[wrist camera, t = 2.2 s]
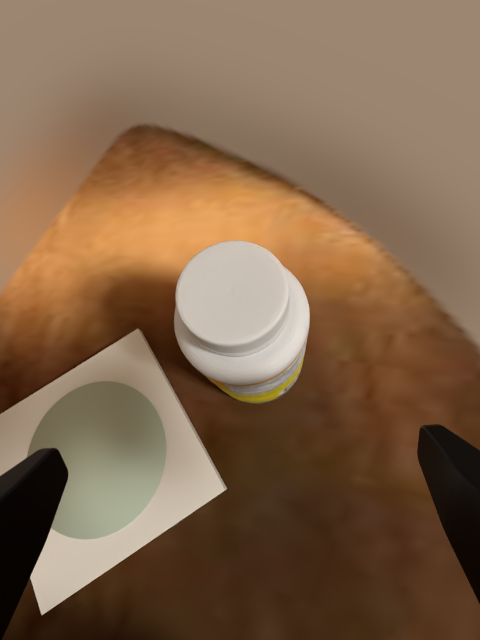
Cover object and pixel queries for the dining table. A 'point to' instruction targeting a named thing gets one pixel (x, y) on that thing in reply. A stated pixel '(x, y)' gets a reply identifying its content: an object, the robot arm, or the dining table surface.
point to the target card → (109, 463)
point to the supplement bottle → (242, 320)
